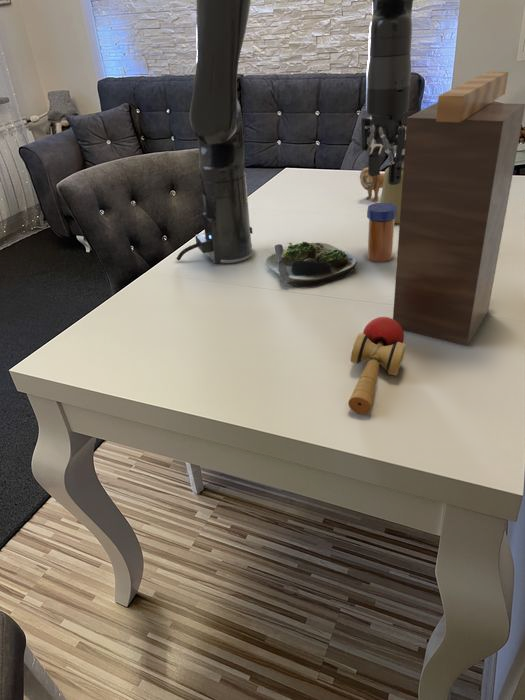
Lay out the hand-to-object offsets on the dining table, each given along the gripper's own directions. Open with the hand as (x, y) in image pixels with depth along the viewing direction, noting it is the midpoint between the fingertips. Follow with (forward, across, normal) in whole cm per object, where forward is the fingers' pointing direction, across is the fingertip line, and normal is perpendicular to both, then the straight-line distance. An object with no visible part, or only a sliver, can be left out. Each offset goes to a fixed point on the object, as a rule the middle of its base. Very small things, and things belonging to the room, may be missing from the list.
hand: (383, 179), depth 103 cm
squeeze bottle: (+16, -17, +15) cm, 28 cm away
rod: (-16, +25, -2) cm, 30 cm away
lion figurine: (+16, -33, +21) cm, 42 cm away
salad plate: (+16, -2, -15) cm, 22 cm away
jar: (+16, 0, 0) cm, 16 cm away
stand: (+16, +27, -5) cm, 32 cm away
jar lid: (+6, 0, 0) cm, 6 cm away
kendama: (+16, +36, -23) cm, 46 cm away
